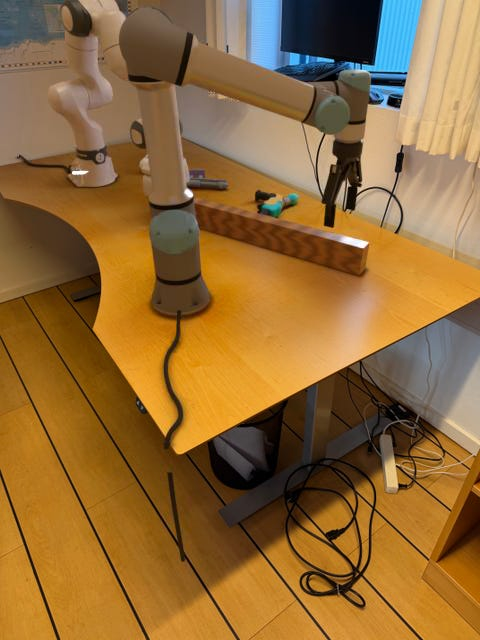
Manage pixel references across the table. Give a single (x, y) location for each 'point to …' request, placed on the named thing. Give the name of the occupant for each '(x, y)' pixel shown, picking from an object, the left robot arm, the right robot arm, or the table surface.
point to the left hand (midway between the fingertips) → (169, 202)
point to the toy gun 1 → (204, 180)
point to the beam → (283, 236)
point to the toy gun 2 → (273, 202)
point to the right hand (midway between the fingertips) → (339, 217)
